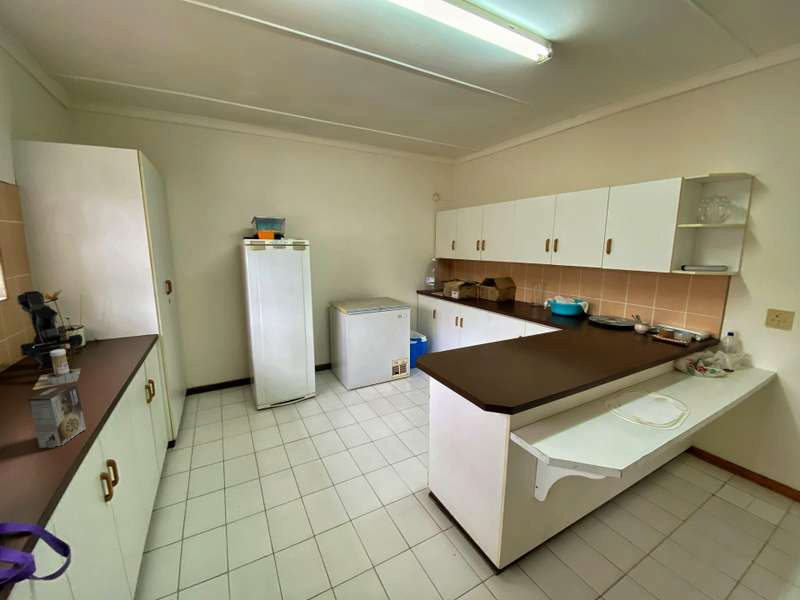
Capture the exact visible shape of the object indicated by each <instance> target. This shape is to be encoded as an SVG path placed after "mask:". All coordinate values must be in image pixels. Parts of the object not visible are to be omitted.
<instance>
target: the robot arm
mask: <svg viewBox="0 0 800 600" xmlns="http://www.w3.org/2000/svg"><path fill="white" fill-rule="evenodd" d="M16 301H17V305H18V306H20V307H21V310H23V311H24V312H27V314H28V318H29V320H30V323H31V326H32V329H33V332H34V335H35V336H34V337H33V339H32V340H33V341H32V342H28V343H21V344H20V345H19V350H20V354H21V357H25V356H26V357H27V358H29V357H31V358H33V359H35V360H36V361H37V362H39V367H38V368H37V369H38V370H42V369H48V368H53V362H52V357H51V356H50V352H51V351H53V350H58V349H61V346H63V345H69V352H70V356H71V358H72V359H73V358H75V351H76V348H78V347H79V346H82V345H83V336H82V335H81V334H73V335H68V339H67V338H66V339H62V334H66V332H67V331H66V327H65V325H59V326H58V327H57V326H56V319H57V318H56V317H57V316H58V315H59V314H58V312H57V311H56V310H55V309H53V308H52V307H50V305H48V304H47V305H46V304H45V303H44V302H45V298H44V294H43V293H41V292H40V291H38V290H32V291H31V290H30V291H25V292H23V293H22V294H19V295H17V296H16Z"/></svg>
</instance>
